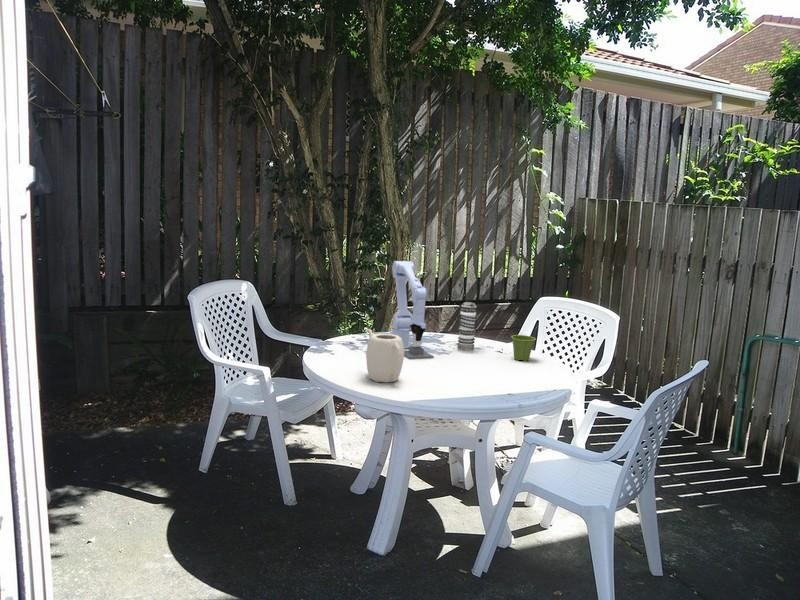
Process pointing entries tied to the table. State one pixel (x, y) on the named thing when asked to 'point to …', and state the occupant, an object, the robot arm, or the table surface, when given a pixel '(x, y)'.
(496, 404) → the table surface
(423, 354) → the grey socket base
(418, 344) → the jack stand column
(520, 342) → the plant pot
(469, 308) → the decorative candle
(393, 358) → the cream ceramic pot
